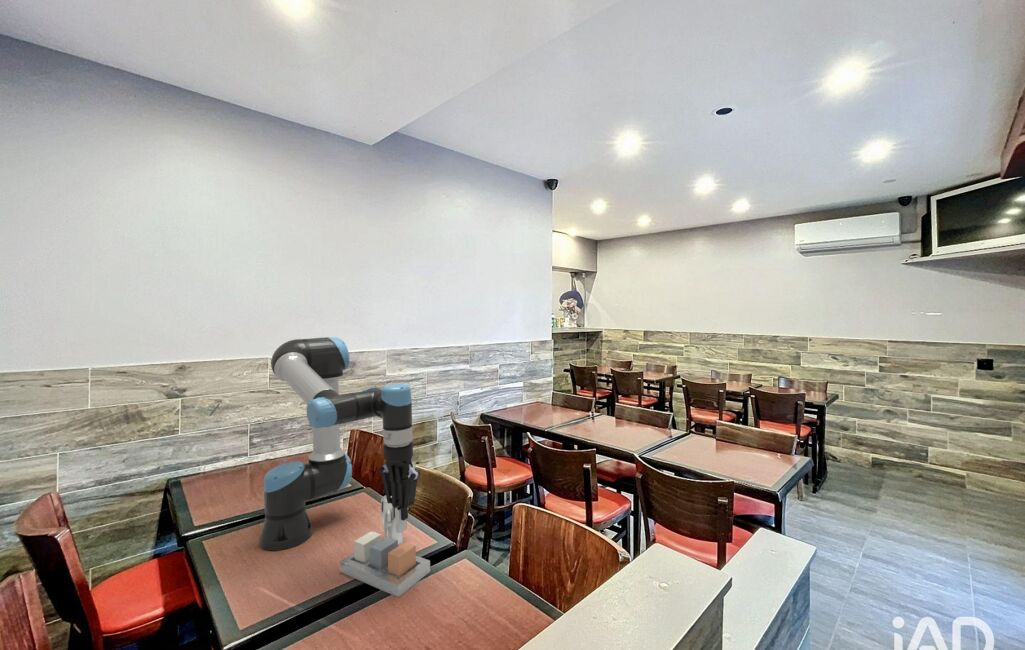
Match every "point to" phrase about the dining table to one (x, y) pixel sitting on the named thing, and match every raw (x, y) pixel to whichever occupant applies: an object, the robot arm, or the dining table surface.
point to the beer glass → (389, 520)
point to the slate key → (382, 552)
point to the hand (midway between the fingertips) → (401, 530)
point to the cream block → (365, 546)
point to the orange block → (401, 558)
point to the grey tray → (385, 574)
